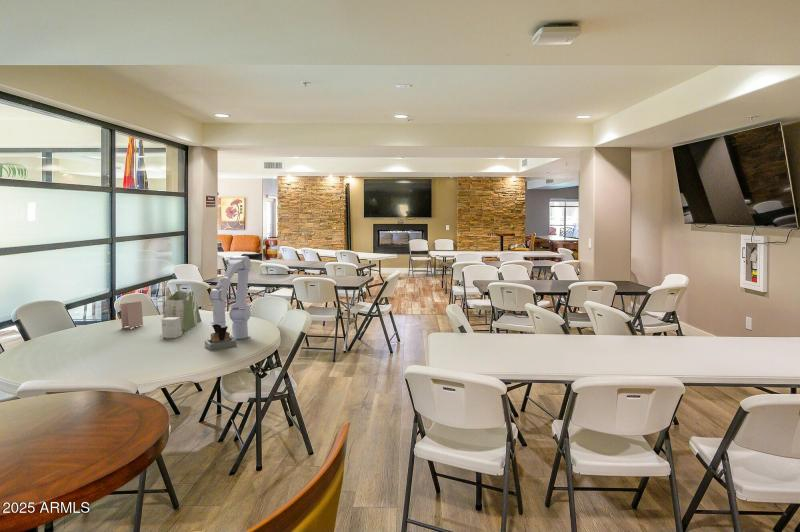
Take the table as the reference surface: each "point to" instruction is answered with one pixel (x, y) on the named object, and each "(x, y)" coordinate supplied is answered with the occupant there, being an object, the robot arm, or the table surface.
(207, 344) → the big crate
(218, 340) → the small crate
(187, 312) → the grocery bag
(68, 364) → the table surface
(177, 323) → the small box
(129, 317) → the pink upright box
